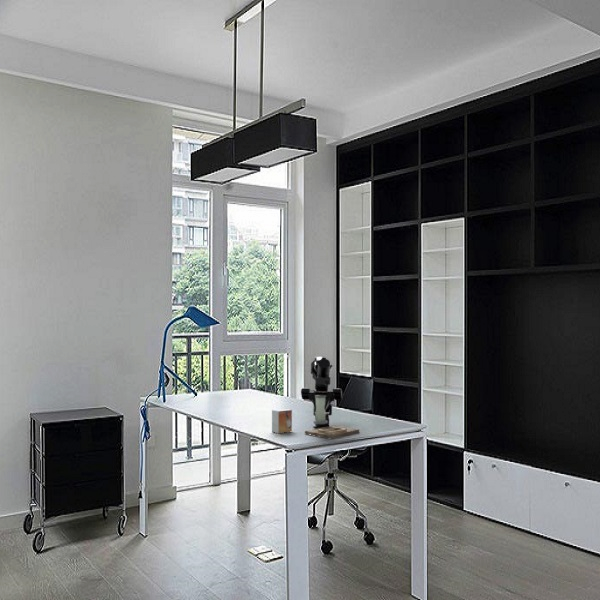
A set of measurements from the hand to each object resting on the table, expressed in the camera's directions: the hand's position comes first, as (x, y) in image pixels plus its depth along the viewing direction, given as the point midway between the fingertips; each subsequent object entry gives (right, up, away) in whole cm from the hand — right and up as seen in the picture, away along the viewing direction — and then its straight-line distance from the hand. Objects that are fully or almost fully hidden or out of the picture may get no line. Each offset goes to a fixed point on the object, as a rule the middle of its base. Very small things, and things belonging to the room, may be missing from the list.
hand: (320, 408), depth 307 cm
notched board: (+6, -13, +8) cm, 16 cm away
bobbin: (0, -7, +1) cm, 7 cm away
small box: (-18, -13, +12) cm, 25 cm away
